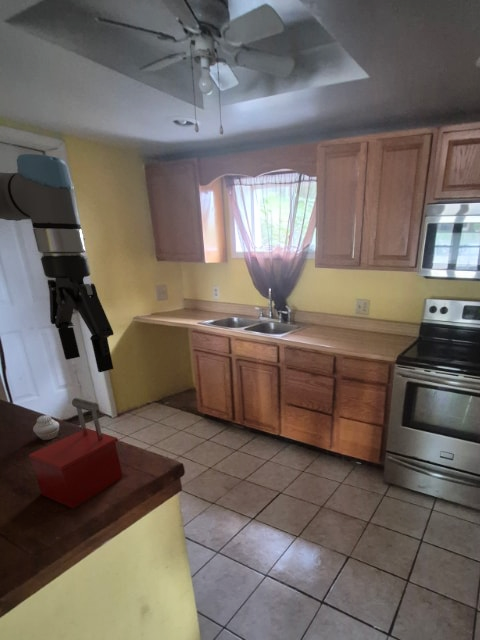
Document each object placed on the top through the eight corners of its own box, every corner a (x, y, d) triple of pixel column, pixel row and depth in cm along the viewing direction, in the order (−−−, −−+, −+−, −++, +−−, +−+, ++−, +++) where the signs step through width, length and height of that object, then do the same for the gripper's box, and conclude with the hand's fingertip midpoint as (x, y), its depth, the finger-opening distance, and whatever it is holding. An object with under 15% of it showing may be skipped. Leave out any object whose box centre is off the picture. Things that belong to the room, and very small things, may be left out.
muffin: (67, 433, 107) (61, 411, 104) (52, 444, 101) (46, 421, 98) (46, 432, 107) (39, 410, 104) (31, 443, 101) (23, 420, 98)
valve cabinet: (93, 467, 91) (84, 432, 87) (123, 478, 87) (115, 442, 83) (42, 496, 81) (29, 458, 77) (73, 510, 77) (61, 470, 73)
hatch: (87, 431, 88) (78, 392, 84) (118, 440, 84) (109, 401, 80) (29, 457, 77) (15, 415, 73) (61, 470, 73) (48, 426, 69)
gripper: (120, 256, 65) (139, 371, 73) (54, 252, 78) (77, 349, 86) (75, 257, 59) (102, 381, 68) (13, 253, 72) (42, 357, 81)
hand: (88, 364), depth 77 cm, fingers open, 13 cm apart
